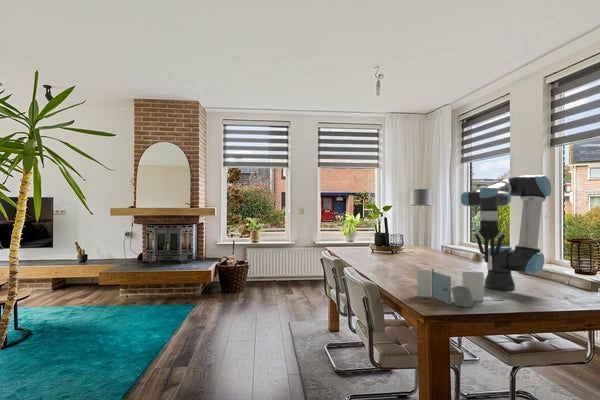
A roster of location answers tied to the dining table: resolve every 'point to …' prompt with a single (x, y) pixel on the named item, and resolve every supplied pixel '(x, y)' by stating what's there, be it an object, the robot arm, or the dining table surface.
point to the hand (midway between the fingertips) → (489, 269)
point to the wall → (469, 280)
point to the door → (442, 287)
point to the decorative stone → (462, 296)
